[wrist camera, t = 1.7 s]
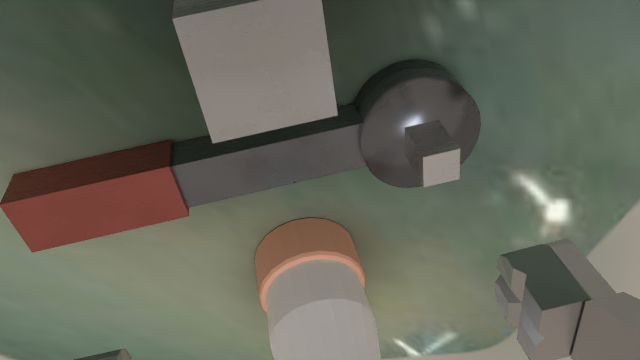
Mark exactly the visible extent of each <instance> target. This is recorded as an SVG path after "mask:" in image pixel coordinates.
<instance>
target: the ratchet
mask: <svg viewBox="0 0 640 360" xmlns="http://www.w3.org/2000/svg"><path fill="white" fill-rule="evenodd" d="M337 113H338V116H333V117H329V118H324V119H320V120H315V121H311V122H306V123H302V124H297V125H293V126H289V127H284V128H280V129H275V130H271V131H266V132H262V133H257V134H253V135H249V136H244V137H240V138H235V139H231V140H226V141H222V142H217V143H212V140H211V136H210V135H209V136H204V137H200V138H195V139H191V140H186V141H182V142H177V143H172V140H171V139H170V140H166V141H161V142H157V143H152V144H148V145H143V146H139V147H134V148H130V149H125V150H121V151H116V152H112V153H107V154H103V155H98V156H94V157H89V158H85V159H80V160H76V161H72V162H67V163H63V164H58V165H54V166H49V167H45V168H40V169H36V170H31V171H27V172H22V173H18V174H14V175H13V177H12V179H11V181H10V183H9V186H8V188H7V190H6V192H5V194H4V196H3V198H2V200H1V202H0V207H1V208H2V210H3V211H4V213H5V214H6V216H7V217H8V218H9V220H10V221H11V223H12V224H13V226H14V227H15V228H16V230H17V231H18V233H19V234H20V236H21V237H22V239H23V240H24V241H25V243H26V244H27V246H28V247H29V249H30V250H31V251H32V252H36V251H41V250H45V249H49V248H54V247H58V246H62V245H66V244H71V243H75V242H79V241H84V240H88V239H92V238H97V237H101V236H105V235H109V234H114V233H118V232H122V231H127V230H131V229H135V228H139V227H144V226H148V225H152V224H157V223H161V222H165V221H169V220H174V219H178V218H182V217H187V216H189V207H193V206H197V205H201V204H206V203H210V202H214V201H219V200H223V199H227V198H232V197H236V196H240V195H245V194H249V193H253V192H257V191H262V190H266V189H270V188H275V187H279V186H283V185H288V184H292V183H296V182H301V181H305V180H309V179H313V178H318V177H322V176H326V175H331V174H335V173H339V172H344V171H348V170H352V169H357V168H361V167H365V166H367V167H368V168H369V170H370V171H371V172H372V174H373V175H374V176H375V177H377V178H378V179H379V180H381V181H382V182H384V183H387V184H389V185H392V186H396V187H405V188H411V187H419V186H423V187H428V186H432V185H436V184H440V183H444V182H449V181H453V180H457V179H459V175H460V165H461V164H462V163H463V162H464V161H465V160H466V159H467V157H468V156H469V155H470V153H471V152H472V150H473V148H474V146H475V144H476V142H477V139H478V136H479V132H480V126H481V122H480V113H479V110H478V107H477V105H476V103H475V101H474V100H473V98H472V97H471V96H470V95H469V94H468V93H467V91H466V90H465V89H464V88H463V87H462V86H461V85H460V84H459V83H458V82H457V80H456V79H455V78H454V77H453V76H452V75H451V74H450V73H449V72H448V71H447V70H446V69H445V68H443V67H442V66H440V65H438V64H436V63H434V62H431V61H427V60H406V61H401V62H398V63H394V64H392V65H390V66H387V67H386V68H384V69H382V70H380V71H379V72H378V73H376V74H375V75H374V76H372V77H371V78H370V79H369V80H368V81H367V82H366V83H365V84H364V86H363V87H362V88H361V90H360V91H359V93H358V94H357V96H356V98H355V100H354V103H352V104H347V105H343V106H338V107H337Z"/></svg>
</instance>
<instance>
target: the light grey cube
mask: <svg viewBox="0 0 640 360" xmlns="http://www.w3.org/2000/svg"><path fill="white" fill-rule="evenodd" d="M172 20H173V23H174V26H175V29H176V32H177V35H178V38H179V41H180V45H181V48H182V51H183V54H184V57H185V60H186V63H187V66H188V69H189V72H190V75H191V78H192V81H193V84H194V87H195V90H196V94H197V97H198V100H199V103H200V106H201V109H202V112H203V115H204V118H205V121H206V124H207V127H208V130H209V133H210V136H211V140H212V143H217V142H222V141H226V140H231V139H235V138H240V137H244V136H249V135H253V134H257V133H262V132H266V131H271V130H275V129H280V128H284V127H289V126H293V125H297V124H302V123H306V122H311V121H315V120H320V119H324V118H329V117H333V116H338V113H337V106H336V99H335V92H334V84H333V77H332V70H331V63H330V56H329V49H328V42H327V35H326V28H325V21H324V14H323V6H322V0H174V6H173V15H172Z"/></svg>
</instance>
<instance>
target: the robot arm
mask: <svg viewBox="0 0 640 360" xmlns="http://www.w3.org/2000/svg"><path fill="white" fill-rule="evenodd" d="M497 269H498V270H499V272H500V273H501V275H500V276H499V277H498V278H497V280H496V281H495V294H496V299H497V303H498V306H499V308H500V310H501V313H502V314H503V316H504V318H505V320H506V321H507V322H508V323H509V324H511V325H513V326H515V327H517V328H518V333H517V340H518V342H519V343H520V345H521V347H522V348H523V350H524V352H525V354H526V355H527V357H528V359H529V360H555V359H560V358H564V357H568V356H571V359H573V360H640V300H639V299H637V298H635V297H633V296H631V295H629V294H627V293H624V292H621V293H616V292H615V291H614V290H613V289H612V288H611V286H610V285H609V284H608V283H607V282H606V280H605V279H604V278H603V277H602V276H601V275H600V274H599V272H598V271H597V270H596V269H595V268H594V267H593V265H592V264H591V263H590V262H589V261H588V259H587V258H586V257H585V256H584V255H583V254H582V252H581V251H580V250H579V249H578V248H577V247H576V245H575V244H574V243H573V242H572V241H570V240H569V239H562V240H558V241H554V242H550V243H546V244H540V245H536V246H533V247H529V248H525V249H521V250H517V251H513V252H510V253H506V254H502V255H500V256H499V258H498V260H497ZM74 360H132V357H131V355H130V354H129V353H128V351H127V350H126V349H120V350H115V351H111V352H106V353H102V354H97V355H93V356H88V357H84V358H79V359H74Z"/></svg>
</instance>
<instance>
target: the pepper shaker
mask: <svg viewBox="0 0 640 360" xmlns="http://www.w3.org/2000/svg"><path fill="white" fill-rule="evenodd" d="M255 267H256V275H257V283H258V291H259V298H260V304H261V306H262V308H263V309H264V310H265V312H266V313H267V317H268V327H269V338H270V345H271V351H272V354H273V357H274V360H381V357H380V350H379V343H378V336H377V329H376V322H375V319H374V316H373V313H372V311H371V308H370V305H369V303H368V300H367V297H366V295H365V292H364V288H365V275H364V272H363V269H362V266H361V263H360V260H359V257H358V255H357V252H356V249H355V246H354V243H353V241H352V239H351V237H350V234H349V232H347V231H346V230H345V229H344V228H343V227H342V226H341V225H339V224H337V223H335V222H332V221H330V220H327V219H319V218H305V219H298V220H293V221H291V222H288V223H286V224H283V225H281V226H278V227H277V228H276V229H274V230H273V231H272V232H270V233H269V234H268V235H266V236H265V238H264V239H263V241H262V242H261V243H260V245H259V246H258V248H257V251H256V255H255Z"/></svg>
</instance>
